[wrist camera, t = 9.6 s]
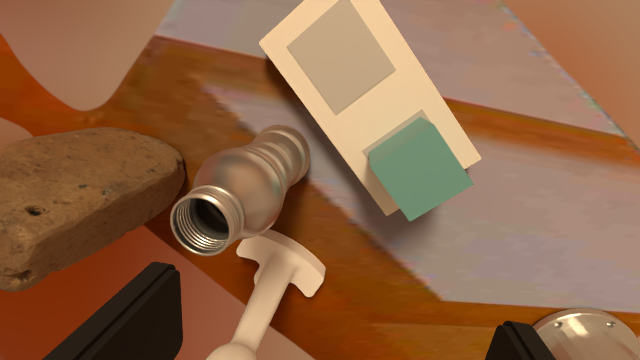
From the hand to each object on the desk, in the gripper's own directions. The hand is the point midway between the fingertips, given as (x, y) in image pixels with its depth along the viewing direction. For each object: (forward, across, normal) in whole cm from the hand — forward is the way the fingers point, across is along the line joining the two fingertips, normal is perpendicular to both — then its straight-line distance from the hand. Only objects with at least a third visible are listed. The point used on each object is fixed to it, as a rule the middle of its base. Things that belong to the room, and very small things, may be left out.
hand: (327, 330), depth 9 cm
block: (+28, +24, +5) cm, 37 cm away
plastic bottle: (+27, +7, +2) cm, 28 cm away
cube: (+24, -6, 0) cm, 25 cm away
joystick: (+27, +7, +16) cm, 32 cm away
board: (+27, -2, -5) cm, 28 cm away
